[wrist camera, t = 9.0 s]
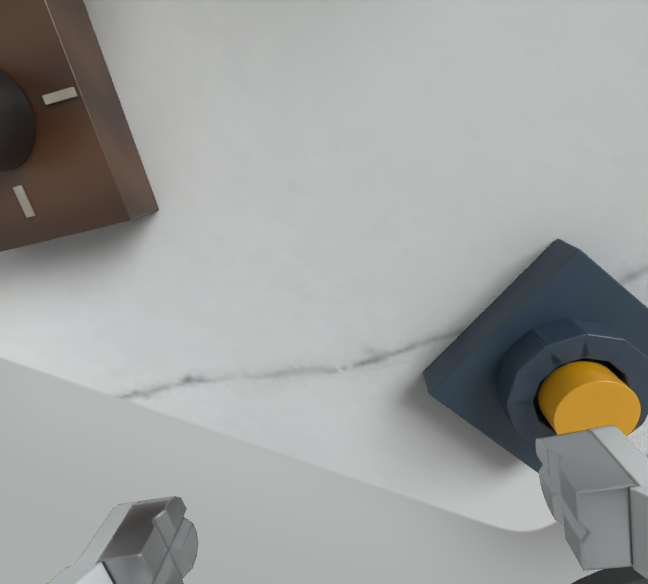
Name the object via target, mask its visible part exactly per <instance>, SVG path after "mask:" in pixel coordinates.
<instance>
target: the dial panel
mask: <svg viewBox="0 0 648 584" xmlns="http://www.w3.org/2000/svg"><path fill="white" fill-rule="evenodd" d="M0 70H2V71H3V72H4V73H5V74H7V75H8V76H9V77H10V78H11V79H12V80H13V81H14V82H15V83H16V84H17V85H18V86H19V88H20V89H21V90H22V92H23V93H24V95H25V96H26V98H27V100H28V102H29V104H30V107H31V109H32V112H33V116H34V120H35V129H36V133H35V141H34V146H33V148H32V151H31V153H30V155H29V156H28V157H27V159H26V160H25V161H24V162H23V163H22V164H21V165H19V166H18V167H16V168H14V169H12V170H8V171H2V172H0V252H1V251H6V250H10V249H14V248H18V247H22V246H26V245H30V244H35V243H39V242H43V241H47V240H51V239H55V238H60V237H64V236H68V235H72V234H76V233H80V232H84V231H89V230H93V229H97V228H101V227H105V226H109V225H113V224H118V223H122V222H126V221H130V220H133V219H136V218H138V217H141V216H144V215H146V214H149V213H152V212H154V211H157V210H159V208H158V206H157V203H156V200H155V197H154V195H153V192H152V189H151V186H150V184H149V181H148V178H147V175H146V173H145V170H144V167H143V164H142V162H141V159H140V156H139V153H138V151H137V148H136V145H135V142H134V140H133V137H132V134H131V132H130V129H129V126H128V123H127V121H126V118H125V115H124V112H123V110H122V107H121V104H120V101H119V99H118V96H117V93H116V90H115V88H114V85H113V82H112V79H111V77H110V74H109V71H108V68H107V66H106V63H105V60H104V57H103V55H102V52H101V49H100V46H99V44H98V41H97V38H96V35H95V33H94V30H93V27H92V24H91V22H90V19H89V16H88V13H87V11H86V8H85V5H84V2H83V0H0Z"/></svg>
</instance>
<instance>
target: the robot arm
mask: <svg viewBox="0 0 648 584" xmlns="http://www.w3.org/2000/svg"><path fill="white" fill-rule="evenodd" d="M535 445H536V454H537V456H538V457H539V459H540V461H541V462H542V464H543V465H542V467H541V468H540V470H539V477H540V484H541V487H542V491H543V494H544V498H545V500H546V502H547V505H548V507H549V509H550V511H551V513H552V515H553V517H554V519H555V520H557V521H558V522H560V523H561V524H563V525H564V529H565V537H566V540H567V542H568V544H569V546H570V548H571V549H572V551H573V553H574V555H575V556H576V558H577V560H578V562H579V564H580V565H581V567H582V569H583V570H595V569H607V568H618V567H629V566H633V569H634V570H636V571H637V572H638V573H640V574H641V575H642V576H644V577H645V578H646V579H648V458H647V457H646V456H645V455H644V454H643V453H642V452H641V451H640V450H639V449H638V448H637V447H636V446H635V445H634V444H633V443H632V442H631V441H630V440H629V439H628V438H627V436H626V435H625V434H624V433H623V432H622V431H621V430H620V429H619V428H618V427H616V426H614V425H606V426H601V427H595V428H590V429H586V430H582V431H576V432H570V433H564V434H558V435H552V436H546V437H540V438H536V443H535ZM185 511H186V507H185V505H184V503H183V501H182V499H181V498H180V497H176V496H173V497H166V498H159V499H151V500H143V501H138V502H132V503H124V504H119V505H118V506H116V507H114V508H113V509H112V511H111V512H110V514H109V515H108V516H107V518H106V519H105V521H104V523H103V524H102V525H101V527H100V528H99V530H98V531H97V533H96V534H95V536H94V537H93V539H92V540H91V541H90V543H89V544H88V546H87V547H86V549H85V550H84V552H83V553H82V555H81V556H80V558H79V559H78V561H77V562H76V564H75V565H74V566H71V567H67V568H66V569H64V570H63V571H62V572H61V573H59V574H58V575H57V576H56V577H54V578H53V579H52V580H50V581H49V582H48V583H47V584H184V583H183V580H182V579H183V578H184V576H185V575H186V574H187V573H188V572H189V571H190V570H191V569H192V568H193V565H194V562H195V560H196V557H197V549H198V548H197V547H198V538H197V532H196V529H195V527H194V524H193V523H192V522H191V521H189V520H188V519H186V518H185V517H184V514H185Z"/></svg>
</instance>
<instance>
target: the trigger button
mask: <svg viewBox="0 0 648 584" xmlns="http://www.w3.org/2000/svg"><path fill="white" fill-rule="evenodd" d="M538 404H539V407H540V410H541V411H542V413H543V414H544V416H545V417H546V419H547V420H548V422H549V423H550V425H551V426H552V428H553V429H554V430H555V432H556V433H557V435H558V434H564V433H570V432H576V431H582V430H586V429H590V428H595V427H601V426H606V425H614V426H616V427H618V428H619V429H620V430H621V431H622V432H623V433H624V434H625V435H626V436H628V435H629V434H630V433H631V432H632V430H633V429H634V428H635V426H636V425H637V423H638V420H639V417H640V411H641V408H640V403H639V399H638V397H637V396H636V394H635V393H634V392H633V391H632V390H631V389H630V388H629V387H628V386H627V385H626V384H625V383H624V382H622V381H621V380H620V379H619V378H618V377H617V376H616V375H615V374H614V373H613V372H611V371H610V370H609V369H608V368H607V367H605V366H603V365H601V364H599V363H596V362H591V361H576V362H571V363H568V364H565V365H563V366H560V367H559V368H557V369H555V370H554V371H553V372H551V373H550V374H549V375H548V376H547V377H546V378H545V380H544V381H543V383H542V384H541V386H540V389H539V392H538Z"/></svg>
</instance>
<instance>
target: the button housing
mask: <svg viewBox="0 0 648 584" xmlns="http://www.w3.org/2000/svg"><path fill="white" fill-rule="evenodd" d="M576 361H591V362H596V363H599V364H601V365H603V366H605V367H607V368H608V369H609V370H610V371H611V372H613V373H614V374H615V375H616V376H617V377H618V378H619V379H620V380H621V381H622V382H624V383H625V384H626V385H627V386H628V387H629V388H630V389H631V390H632V391H633V392H634V393H635V394H636V396H637V397H638V399H639V403H640V408H641V411H640V417H639V420H638V423H637V425H636V426H635V428H634V429H633V430H632V432H633V431H634V430H635V429H637V428H638V427H639V426H641V425H642V423H644V421H645V419H646V417H647V415H648V308H647V307H646V306H645V305H644V304H642V303H641V302H640V301H639V300H638V299H637V298H636V297H634V296H633V295H632V294H631V293H630V292H629V291H627V290H626V289H625V288H624V287H623V286H622V285H621V284H619V283H618V282H617V281H616V280H615V279H614V278H612V277H611V276H610V275H609V274H608V273H607V272H605V271H604V270H603V269H602V268H601V267H600V266H599V265H597V264H596V263H595V262H594V261H593V260H592V259H590V258H589V257H588V256H587V255H586V254H585V253H583V252H582V251H581V250H580V249H578V248H576V247H574V246H572V245H570V244H568V243H566V242H564V241H562V240H560V239H557V240H556V241H555V242H554V243H553V244H552V245H551V246H550V247H549V248H548V249H547V250H546V251H545V252H544V253H543V254H542V255H541V256H540V257H539V258H538V259H537V260H536V261H535V262H534V263H533V264H532V265H531V266H530V267H529V268H528V269H527V270H526V271H525V272H524V273H523V274H522V275H521V276H520V277H519V278H518V279H517V280H516V281H515V282H514V283H513V284H512V285H510V286H509V287H508V288H507V289H506V290H505V291H504V292H503V293H502V294H501V295H500V296H499V297H498V298H497V299H496V300H495V301H494V302H493V303H492V304H491V305H490V306H489V307H488V308H487V309H486V310H485V311H484V312H483V313H482V314H481V315H480V316H479V317H478V318H477V319H476V320H475V321H474V322H473V323H472V324H471V325H470V326H469V327H468V328H467V329H466V330H465V331H464V332H463V333H462V334H461V335H460V336H459V337H458V338H457V339H456V340H455V341H454V342H453V343H452V344H451V345H450V346H449V347H448V348H447V349H446V350H445V351H444V352H443V353H442V354H441V355H440V356H439V357H438V358H437V359H436V360H435V361H434V362H433V363H432V364H431V365H430V366H429V367H428V368H427V369H426V370H425V371H424V372H423V374H424V377H425V381H426V384H427V388H428V391H429V394H430V395H432V396H433V397H434V398H436V399H437V400H439V401H440V402H441V403H443V404H444V405H445V406H447V407H448V408H450V409H451V410H452V411H454V412H455V413H456V414H458V415H459V416H461V417H462V418H463V419H465V420H466V421H467V422H469V423H470V424H472V425H473V426H474V427H476V428H477V429H478V430H480V431H481V432H483V433H484V434H485V435H487V436H488V437H490V438H491V439H492V440H494V441H495V442H496V443H498V444H499V445H501V446H502V447H503V448H505V449H506V450H507V451H509V452H510V453H512V454H513V455H514V456H516V457H517V458H518V459H520V460H521V461H523V462H524V463H525V464H527V465H528V466H529V467H531V468H532V469H534V470H535V471H536V472H538V473H539V470H540V468H541V467H542V465H543V464H542V462H541V461H540V459H539V457H538V456H537V454H536V445H535V443H536V438H540V437H546V436H552V435H557V433H556V432H555V430H554V429H553V428H552V426H551V425H550V423H549V422H548V420H547V419H546V417H545V416H544V414H543V413H542V411H541V410H540V407H539V404H538V392H539V389H540V386H541V384H542V383H543V381H544V380H545V378H546V377H547V376H548V375H549V374H550V373H551V372H553V371H554V370H555V369H557V368H559V367H560V366H563V365H565V364H568V363H571V362H576Z"/></svg>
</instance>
